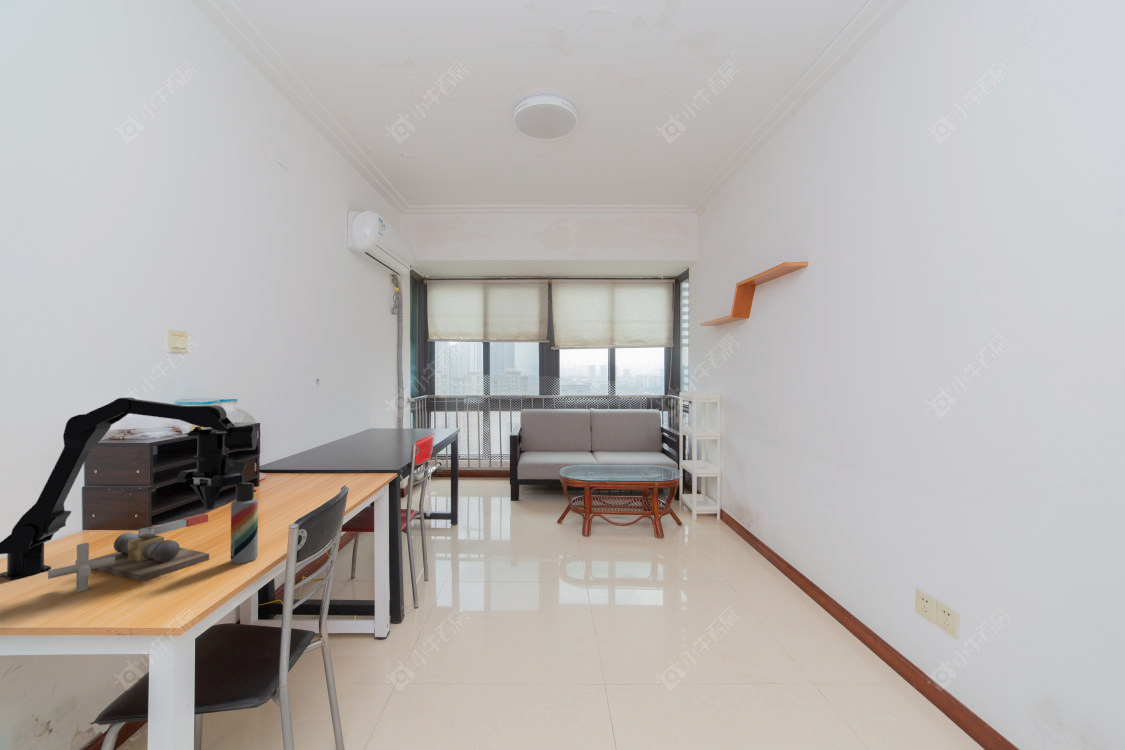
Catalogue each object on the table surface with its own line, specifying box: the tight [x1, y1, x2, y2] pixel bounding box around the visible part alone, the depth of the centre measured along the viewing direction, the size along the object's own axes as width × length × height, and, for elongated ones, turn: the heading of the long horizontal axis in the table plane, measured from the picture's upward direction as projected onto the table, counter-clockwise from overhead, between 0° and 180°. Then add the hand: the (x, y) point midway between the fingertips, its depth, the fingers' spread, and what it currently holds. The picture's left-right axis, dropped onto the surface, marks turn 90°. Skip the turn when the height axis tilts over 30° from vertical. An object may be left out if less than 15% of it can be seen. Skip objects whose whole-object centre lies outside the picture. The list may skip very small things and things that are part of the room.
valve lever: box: [137, 513, 209, 538], centre depth 119 cm, size 15×3×2 cm, turn 159°
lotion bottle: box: [230, 481, 259, 565], centre depth 115 cm, size 6×6×20 cm
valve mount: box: [89, 531, 210, 583], centre depth 113 cm, size 24×14×6 cm, turn 69°
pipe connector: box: [47, 542, 115, 593], centre depth 99 cm, size 10×10×10 cm
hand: (209, 508), depth 122 cm, fingers closed
